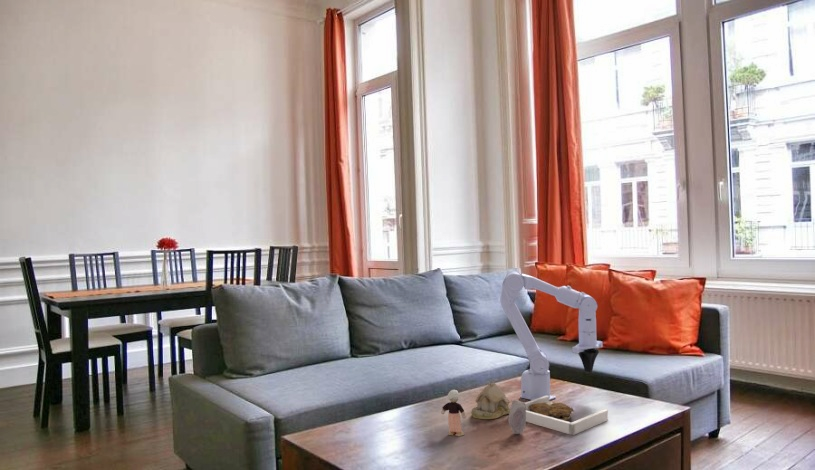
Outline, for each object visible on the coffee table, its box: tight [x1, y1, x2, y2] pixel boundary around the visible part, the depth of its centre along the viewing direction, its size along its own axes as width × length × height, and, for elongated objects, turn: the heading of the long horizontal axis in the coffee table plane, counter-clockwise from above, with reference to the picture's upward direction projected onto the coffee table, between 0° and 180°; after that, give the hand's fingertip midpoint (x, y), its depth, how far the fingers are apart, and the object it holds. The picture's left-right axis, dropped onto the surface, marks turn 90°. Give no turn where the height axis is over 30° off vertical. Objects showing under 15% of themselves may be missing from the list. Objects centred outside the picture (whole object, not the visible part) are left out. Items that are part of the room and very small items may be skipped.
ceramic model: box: [471, 381, 510, 420], centre depth 190 cm, size 14×11×10 cm
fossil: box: [507, 399, 527, 435], centre depth 170 cm, size 6×4×10 cm, turn 117°
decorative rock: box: [529, 401, 574, 422], centre depth 185 cm, size 11×4×15 cm
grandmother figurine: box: [440, 389, 467, 437], centre depth 172 cm, size 8×4×13 cm, turn 71°
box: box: [509, 396, 609, 436], centre depth 183 cm, size 22×18×3 cm
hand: (588, 371), depth 201 cm, fingers closed
